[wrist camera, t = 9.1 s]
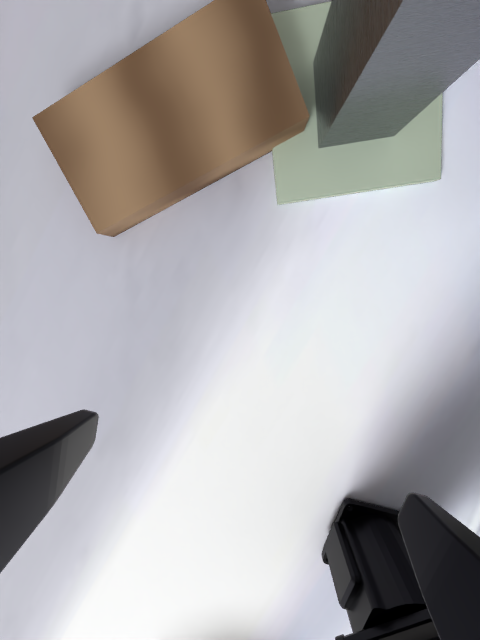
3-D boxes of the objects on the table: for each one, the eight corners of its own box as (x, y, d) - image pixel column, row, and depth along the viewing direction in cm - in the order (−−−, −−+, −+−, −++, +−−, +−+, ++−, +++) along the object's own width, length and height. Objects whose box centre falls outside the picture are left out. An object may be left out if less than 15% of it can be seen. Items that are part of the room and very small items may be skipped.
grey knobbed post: (393, 47, 15) (735, -479, 4) (394, 136, 16) (679, -123, 5) (313, 62, 15) (451, -396, 5) (318, 148, 16) (445, -74, 5)
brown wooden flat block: (255, 12, 15) (255, -27, 13) (302, 134, 16) (309, 116, 14) (57, 134, 17) (32, 117, 15) (113, 236, 18) (96, 233, 16)
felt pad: (439, -14, 14) (444, -22, 14) (436, 180, 16) (440, 178, 16) (259, 22, 15) (259, 16, 15) (277, 205, 17) (278, 203, 17)
